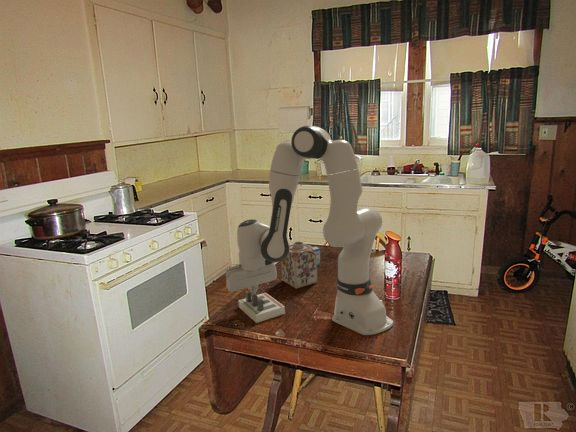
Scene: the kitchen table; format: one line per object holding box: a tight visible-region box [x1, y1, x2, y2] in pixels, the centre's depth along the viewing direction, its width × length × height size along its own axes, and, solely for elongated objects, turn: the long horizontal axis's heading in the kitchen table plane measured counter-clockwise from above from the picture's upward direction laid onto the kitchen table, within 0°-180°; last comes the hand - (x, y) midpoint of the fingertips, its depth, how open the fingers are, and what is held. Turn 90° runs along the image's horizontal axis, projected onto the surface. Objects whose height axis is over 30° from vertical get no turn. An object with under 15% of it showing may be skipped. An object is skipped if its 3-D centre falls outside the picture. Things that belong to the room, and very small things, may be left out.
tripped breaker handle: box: [245, 289, 252, 301], centre depth 161 cm, size 2×2×4 cm
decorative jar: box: [280, 241, 318, 289], centre depth 183 cm, size 12×12×18 cm
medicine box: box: [311, 246, 321, 267], centre depth 203 cm, size 8×4×9 cm, turn 118°
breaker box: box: [238, 292, 286, 324], centre depth 160 cm, size 15×12×7 cm
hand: (253, 295), depth 163 cm, fingers closed
